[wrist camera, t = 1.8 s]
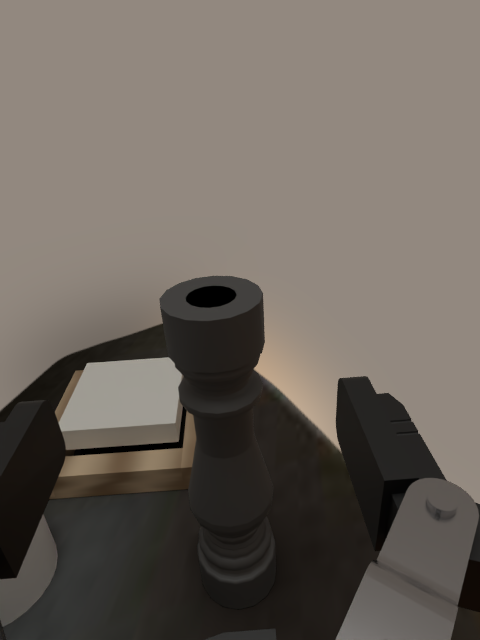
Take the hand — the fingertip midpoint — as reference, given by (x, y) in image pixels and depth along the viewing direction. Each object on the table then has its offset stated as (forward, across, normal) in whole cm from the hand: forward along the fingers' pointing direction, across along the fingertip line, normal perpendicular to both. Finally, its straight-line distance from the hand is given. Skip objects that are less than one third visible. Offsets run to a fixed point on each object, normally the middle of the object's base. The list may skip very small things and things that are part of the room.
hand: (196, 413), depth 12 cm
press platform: (+30, +12, +23) cm, 40 cm away
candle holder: (+12, 0, +27) cm, 30 cm away
